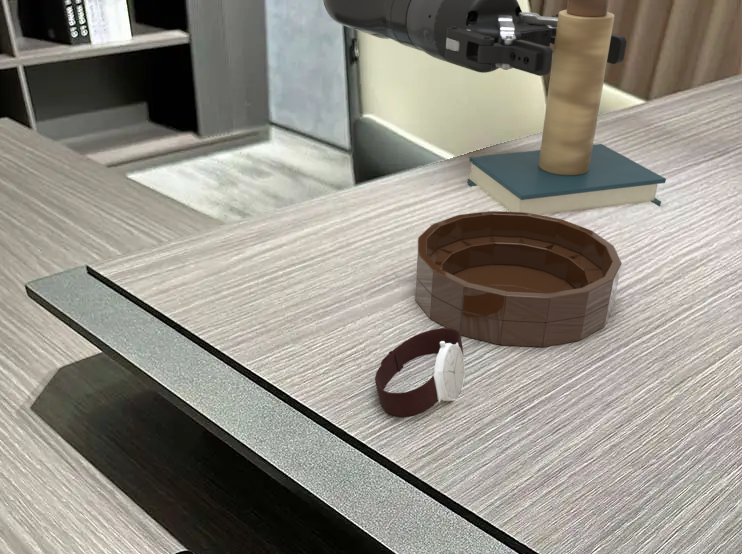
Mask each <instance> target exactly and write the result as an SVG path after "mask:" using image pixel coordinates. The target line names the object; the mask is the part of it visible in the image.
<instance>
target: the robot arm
mask: <svg viewBox="0 0 742 554" xmlns="http://www.w3.org/2000/svg"><path fill="white" fill-rule="evenodd" d="M322 1H323V6H324V8H325V10H326V12H327V14H328V15H329V17H330V18H331V19H332V20H333V21H334V22H335V23H337V24H339V25H341V26H344V27H347V28H349V29H352V30H355V31H358V32H361V33H364V34H367V35H370V36H373V37H376V38H378V39H381V40H383V39H384V40H393V41H395V42H396V43H399V44H400V45H403V46H405V47H408V48H411V49H414V50H417V51H419V52H423V53H425V54H427V55H428V56H430V57H432V58H435V59H437V60H439V61H442V62H446V63H449V64H452V65H455V66H458V67H460V68H464V69H467V70H471V71H474V72H477V73H482V74H483V73H484V74H486V73H491V72H494V71H497V70H498V69H502V70H504V71H508V70H511V69H515V70H519V71H522V72H525V73H529V74H532V75H535V76H538V77H542V76H548V75H549V74H550V73H551V67H552V60H553V53H554V50H553V49H552V47H551V45H555V38H556V30H557V23H558V15H559V13H556V14H553V15H551V16H542V15H540V14H539V13H537V12H530V11H529V12H528V11H522V8H521V6H520V4H519V1H518V0H322ZM626 48H627V38H626V37H625V36H622V35H618V34H614V33H612V34H611V40H610V46H609V52H608V58H607V64H612V65H615V64H616V65H617V64H621V63H623V61H624V59H625V54H626V53H625V52H626V50H627V49H626Z"/></svg>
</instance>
